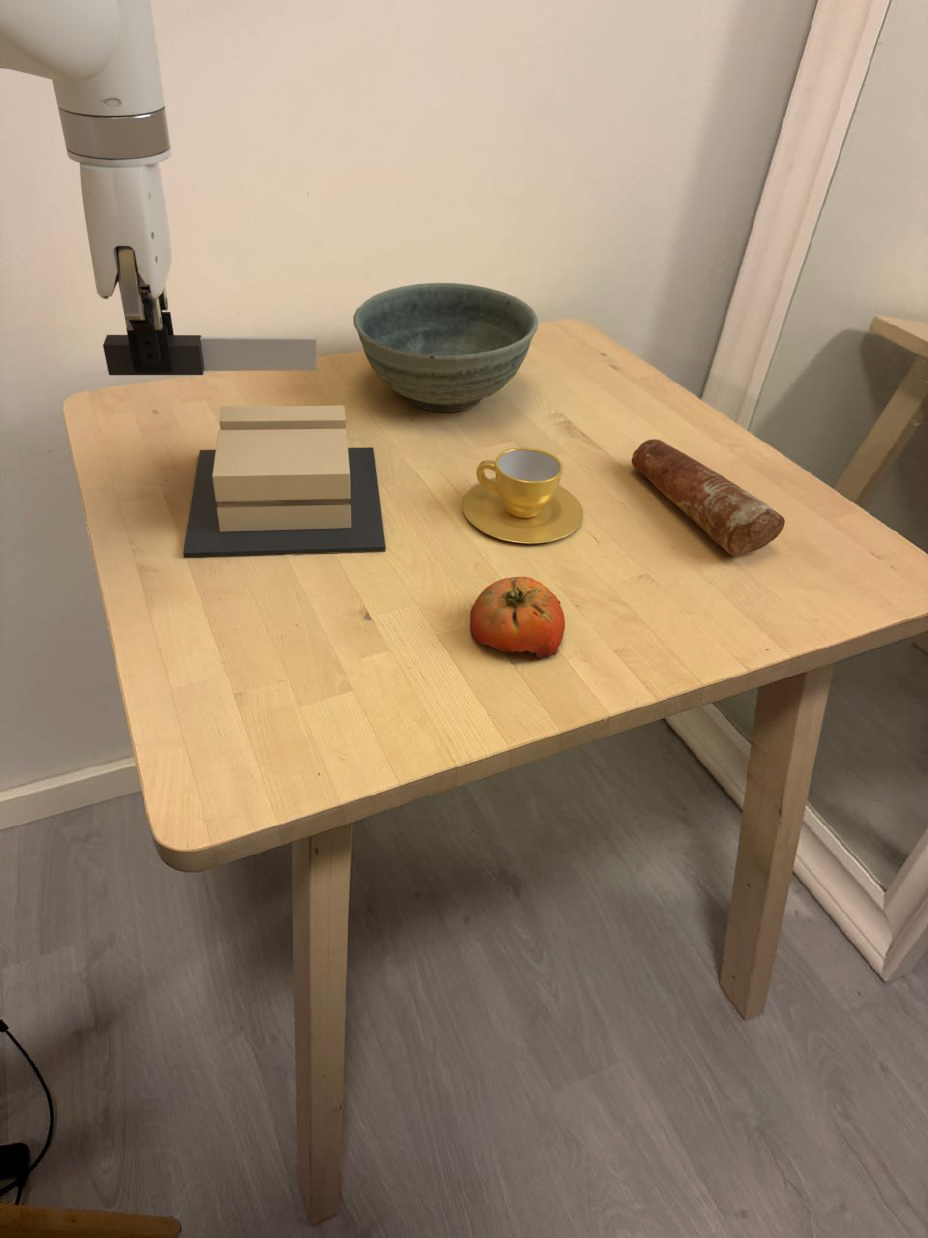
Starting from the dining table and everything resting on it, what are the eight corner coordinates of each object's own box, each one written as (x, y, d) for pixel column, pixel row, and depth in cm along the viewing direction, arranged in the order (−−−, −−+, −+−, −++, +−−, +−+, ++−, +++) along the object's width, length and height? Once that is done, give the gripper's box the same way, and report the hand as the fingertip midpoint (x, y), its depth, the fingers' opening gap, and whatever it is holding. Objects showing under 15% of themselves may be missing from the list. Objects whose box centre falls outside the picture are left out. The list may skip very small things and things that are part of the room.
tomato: (447, 594, 76) (511, 542, 74) (498, 622, 81) (559, 573, 78) (473, 668, 72) (542, 615, 69) (525, 692, 76) (592, 644, 74)
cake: (183, 558, 81) (173, 495, 76) (200, 454, 94) (191, 396, 90) (385, 551, 83) (386, 490, 79) (373, 451, 97) (373, 395, 93)
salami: (728, 570, 84) (743, 521, 81) (619, 469, 97) (628, 422, 94) (781, 557, 87) (798, 508, 83) (668, 459, 99) (678, 413, 96)
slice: (226, 475, 90) (219, 421, 86) (227, 459, 93) (221, 406, 89) (347, 472, 92) (345, 419, 88) (345, 457, 94) (344, 405, 90)
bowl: (551, 432, 102) (563, 348, 96) (368, 444, 98) (367, 356, 92) (503, 354, 118) (511, 277, 111) (343, 361, 113) (341, 281, 107)
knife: (108, 375, 79) (102, 342, 77) (112, 364, 80) (106, 332, 78) (317, 375, 81) (316, 343, 79) (317, 364, 83) (316, 332, 81)
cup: (593, 493, 93) (601, 447, 90) (567, 558, 84) (575, 509, 81) (481, 469, 95) (485, 423, 92) (445, 529, 87) (448, 481, 83)
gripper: (83, 106, 73) (125, 326, 85) (41, 160, 61) (96, 407, 73) (179, 110, 74) (207, 326, 86) (155, 163, 62) (191, 406, 74)
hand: (155, 362), depth 80 cm, fingers closed on knife, 2 cm apart
